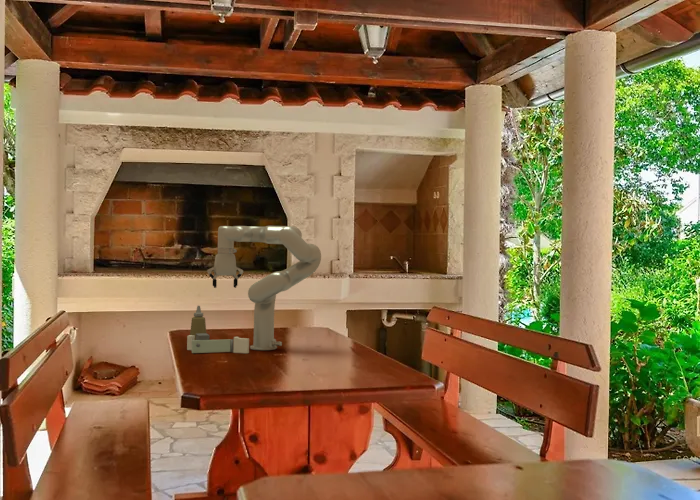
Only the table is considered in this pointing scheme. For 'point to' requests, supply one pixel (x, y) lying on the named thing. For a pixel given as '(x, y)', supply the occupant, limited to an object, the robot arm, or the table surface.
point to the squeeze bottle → (198, 323)
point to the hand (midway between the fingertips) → (225, 287)
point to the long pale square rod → (212, 346)
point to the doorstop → (202, 336)
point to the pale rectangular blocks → (239, 344)
